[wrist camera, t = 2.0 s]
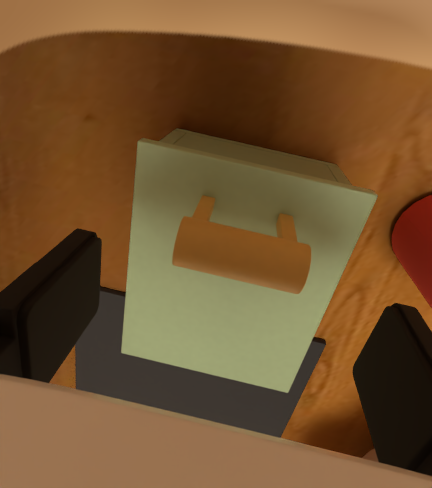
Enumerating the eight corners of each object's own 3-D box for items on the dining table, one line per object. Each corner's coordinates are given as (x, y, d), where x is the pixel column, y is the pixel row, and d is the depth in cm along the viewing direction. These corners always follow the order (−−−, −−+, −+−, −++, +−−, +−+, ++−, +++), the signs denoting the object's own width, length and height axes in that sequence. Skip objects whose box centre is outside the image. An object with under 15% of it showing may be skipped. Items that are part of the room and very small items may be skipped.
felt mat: (77, 281, 32) (74, 284, 31) (325, 339, 32) (326, 344, 31) (78, 430, 44) (76, 434, 43) (260, 474, 43) (260, 479, 43)
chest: (176, 127, 24) (141, 152, 17) (337, 164, 24) (367, 204, 17) (156, 281, 31) (125, 344, 24) (282, 311, 31) (287, 383, 24)
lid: (142, 137, 17) (83, 172, 11) (374, 190, 17) (428, 252, 11) (124, 344, 24) (82, 428, 18) (287, 383, 24) (294, 480, 18)
